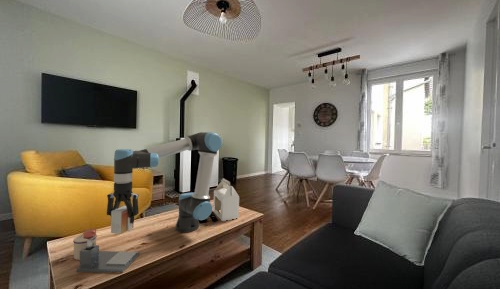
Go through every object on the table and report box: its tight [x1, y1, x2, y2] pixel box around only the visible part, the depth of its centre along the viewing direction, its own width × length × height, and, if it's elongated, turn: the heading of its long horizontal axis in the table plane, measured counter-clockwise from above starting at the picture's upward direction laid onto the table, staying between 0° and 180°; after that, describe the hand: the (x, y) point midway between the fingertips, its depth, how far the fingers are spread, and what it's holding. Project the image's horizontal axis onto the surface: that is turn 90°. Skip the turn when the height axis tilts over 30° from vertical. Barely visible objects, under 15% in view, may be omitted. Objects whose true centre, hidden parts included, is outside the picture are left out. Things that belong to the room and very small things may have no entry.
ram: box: [82, 228, 97, 250], centre depth 94 cm, size 5×5×10 cm
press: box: [76, 244, 140, 274], centre depth 97 cm, size 20×14×8 cm
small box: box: [110, 205, 135, 235], centre depth 98 cm, size 8×6×10 cm
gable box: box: [212, 178, 240, 222], centre depth 162 cm, size 22×13×28 cm, turn 27°
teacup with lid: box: [73, 233, 97, 261], centre depth 104 cm, size 12×9×12 cm
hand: (122, 229), depth 98 cm, fingers closed on small box, 6 cm apart
